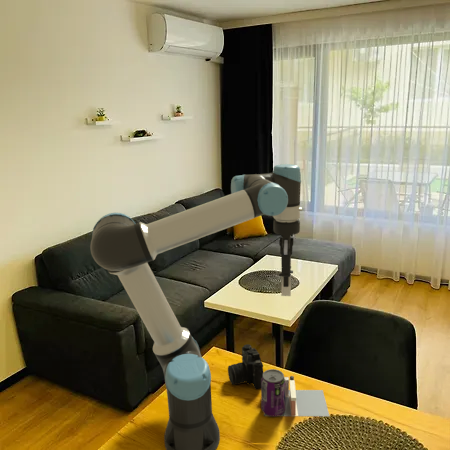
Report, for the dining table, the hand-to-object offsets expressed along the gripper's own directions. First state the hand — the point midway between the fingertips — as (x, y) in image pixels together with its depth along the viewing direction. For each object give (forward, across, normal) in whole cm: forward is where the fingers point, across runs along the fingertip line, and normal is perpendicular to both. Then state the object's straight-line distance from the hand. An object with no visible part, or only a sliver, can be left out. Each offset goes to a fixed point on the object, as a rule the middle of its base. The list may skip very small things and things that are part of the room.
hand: (286, 294), depth 131 cm
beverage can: (+33, -10, +3) cm, 35 cm away
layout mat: (+33, -6, -3) cm, 34 cm away
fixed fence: (+33, -3, +2) cm, 33 cm away
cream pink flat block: (+33, -8, -3) cm, 34 cm away
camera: (+34, +4, +14) cm, 36 cm away
